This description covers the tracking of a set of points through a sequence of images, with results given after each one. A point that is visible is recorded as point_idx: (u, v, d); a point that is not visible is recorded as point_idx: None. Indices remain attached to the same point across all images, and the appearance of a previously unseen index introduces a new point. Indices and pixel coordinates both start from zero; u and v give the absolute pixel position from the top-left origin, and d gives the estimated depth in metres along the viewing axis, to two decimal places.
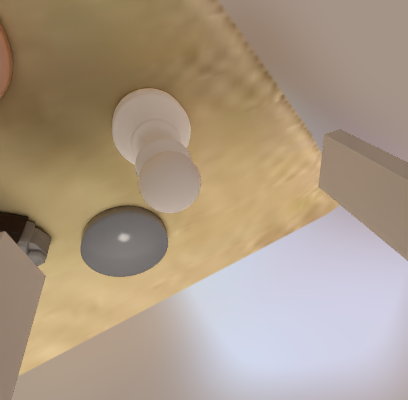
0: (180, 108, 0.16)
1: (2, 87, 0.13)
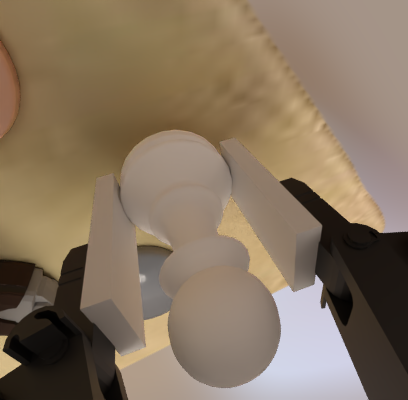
0: (220, 160, 0.11)
1: (6, 124, 0.11)
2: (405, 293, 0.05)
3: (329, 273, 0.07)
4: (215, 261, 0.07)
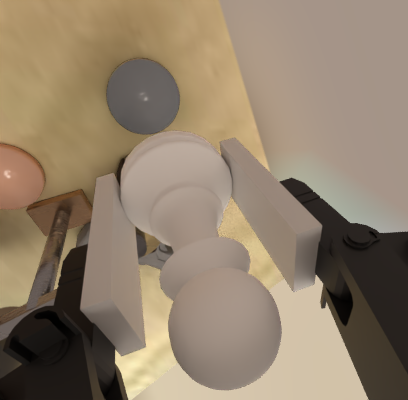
0: (221, 161, 0.11)
1: (14, 152, 0.25)
2: (405, 293, 0.05)
3: (329, 273, 0.07)
4: (216, 263, 0.07)
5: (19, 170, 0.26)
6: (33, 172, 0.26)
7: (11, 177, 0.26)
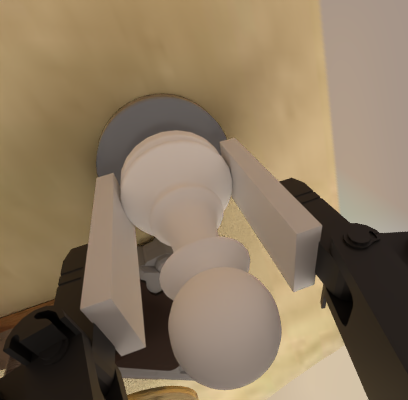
0: (221, 161, 0.11)
1: None
2: (405, 293, 0.05)
3: (329, 273, 0.07)
4: (215, 262, 0.07)
5: None
6: None
7: None
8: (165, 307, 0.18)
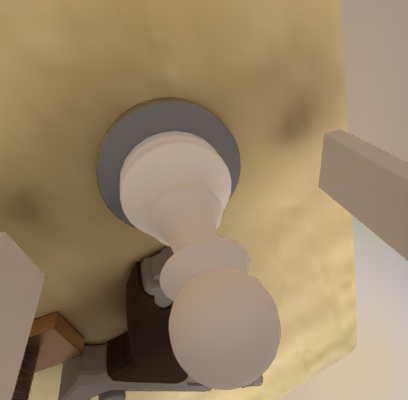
0: (220, 161, 0.11)
1: None
2: None
3: None
4: (215, 263, 0.07)
5: None
6: None
7: None
8: None
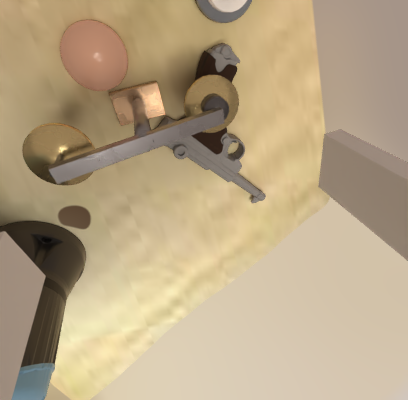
0: None
1: (109, 28, 0.28)
2: None
3: None
4: None
5: (110, 48, 0.29)
6: (121, 51, 0.29)
7: (103, 55, 0.29)
8: None
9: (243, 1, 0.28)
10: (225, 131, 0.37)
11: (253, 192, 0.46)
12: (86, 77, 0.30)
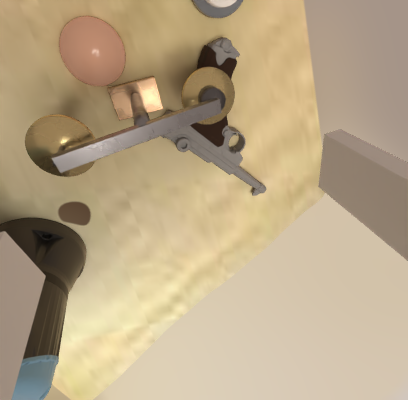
0: None
1: (107, 24, 0.29)
2: None
3: None
4: None
5: (108, 43, 0.30)
6: (119, 47, 0.30)
7: (101, 50, 0.30)
8: None
9: None
10: (226, 124, 0.38)
11: (254, 184, 0.46)
12: (85, 72, 0.31)
